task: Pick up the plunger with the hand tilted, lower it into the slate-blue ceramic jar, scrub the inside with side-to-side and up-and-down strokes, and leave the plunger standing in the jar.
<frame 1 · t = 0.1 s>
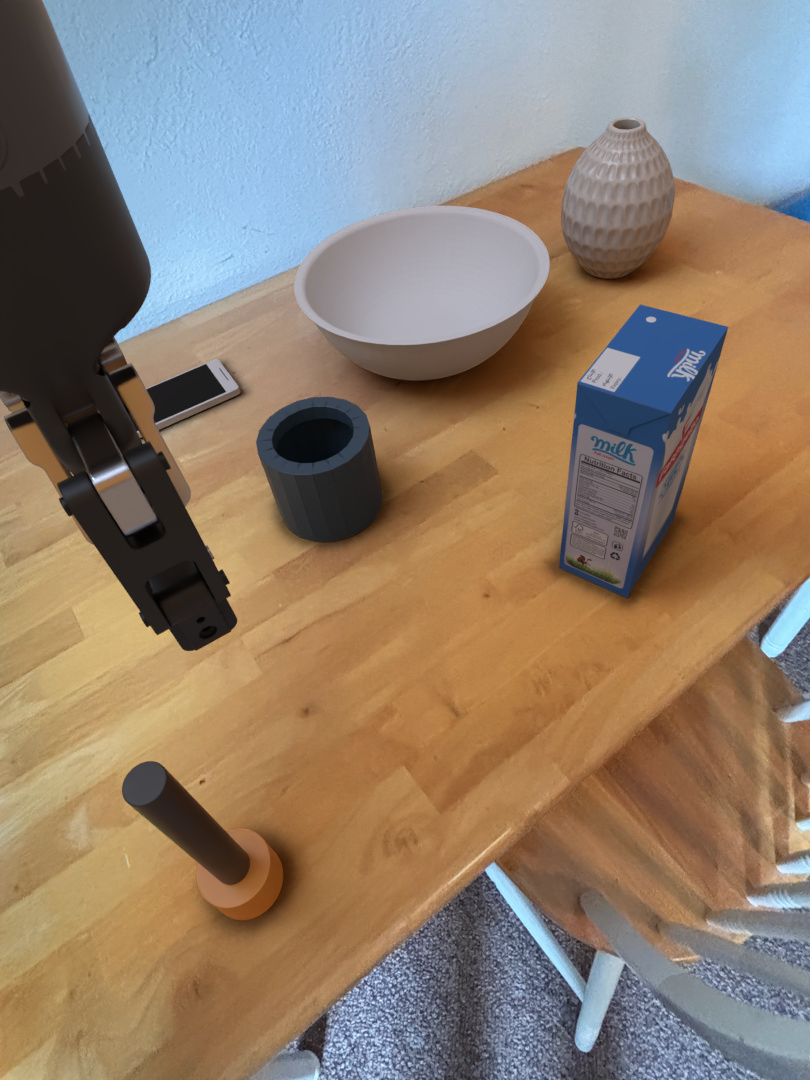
hand: (172, 561, 29), 28 cm above the table, tool pointing down, fingers open, 8 cm apart
vase: (608, 267, 90), on the table
bowl: (427, 347, 83), on the table
jar: (331, 502, 69), on the table
milk carton: (616, 545, 62), on the table
plunger: (248, 880, 48), on the table
smartphone: (169, 406, 81), on the table
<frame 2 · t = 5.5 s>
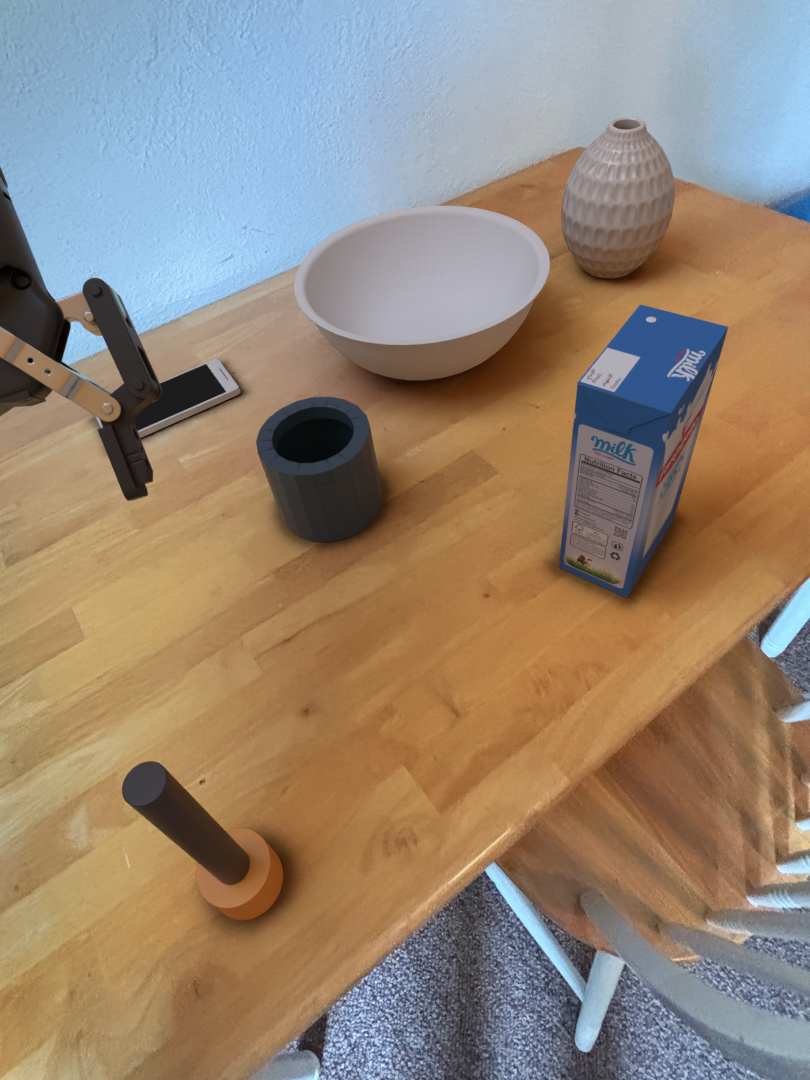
hand: (56, 526, 35), 25 cm above the table, tool tilted 45°, fingers open, 8 cm apart
nothing on the table moved.
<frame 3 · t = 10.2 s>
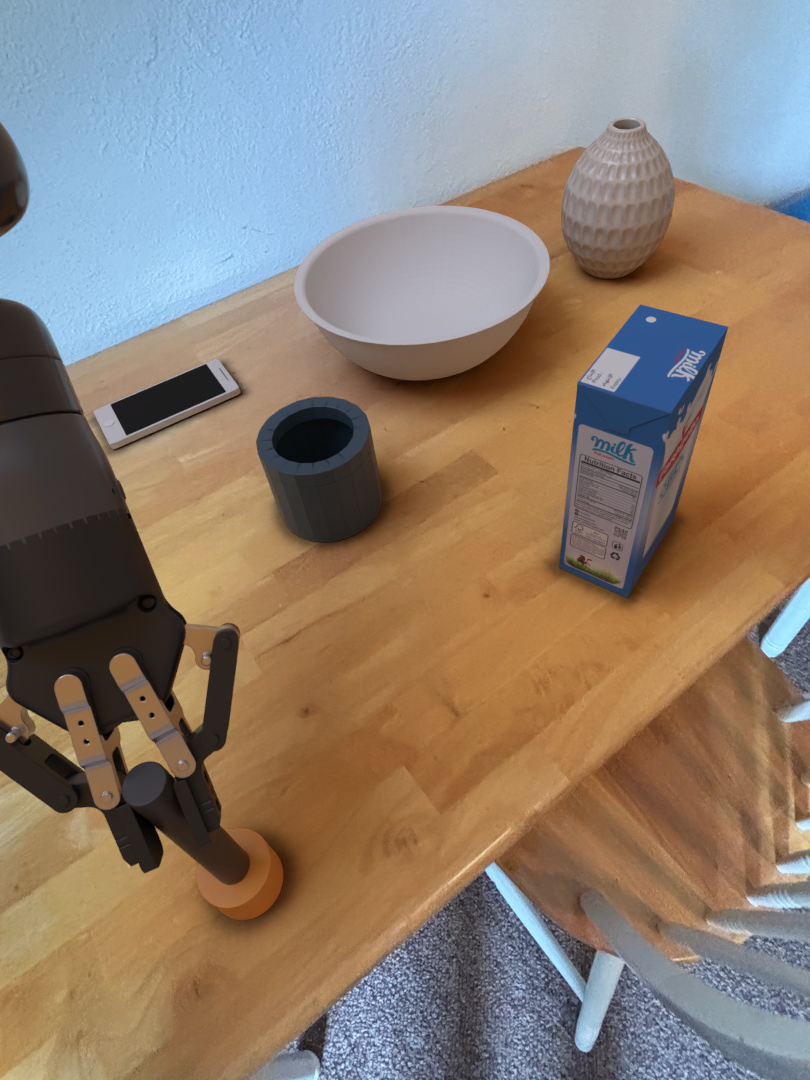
hand: (181, 849, 36), 14 cm above the table, tool tilted 45°, fingers closed on plunger
plunger: (248, 880, 48), on the table, touching gripper
everything else where it was.
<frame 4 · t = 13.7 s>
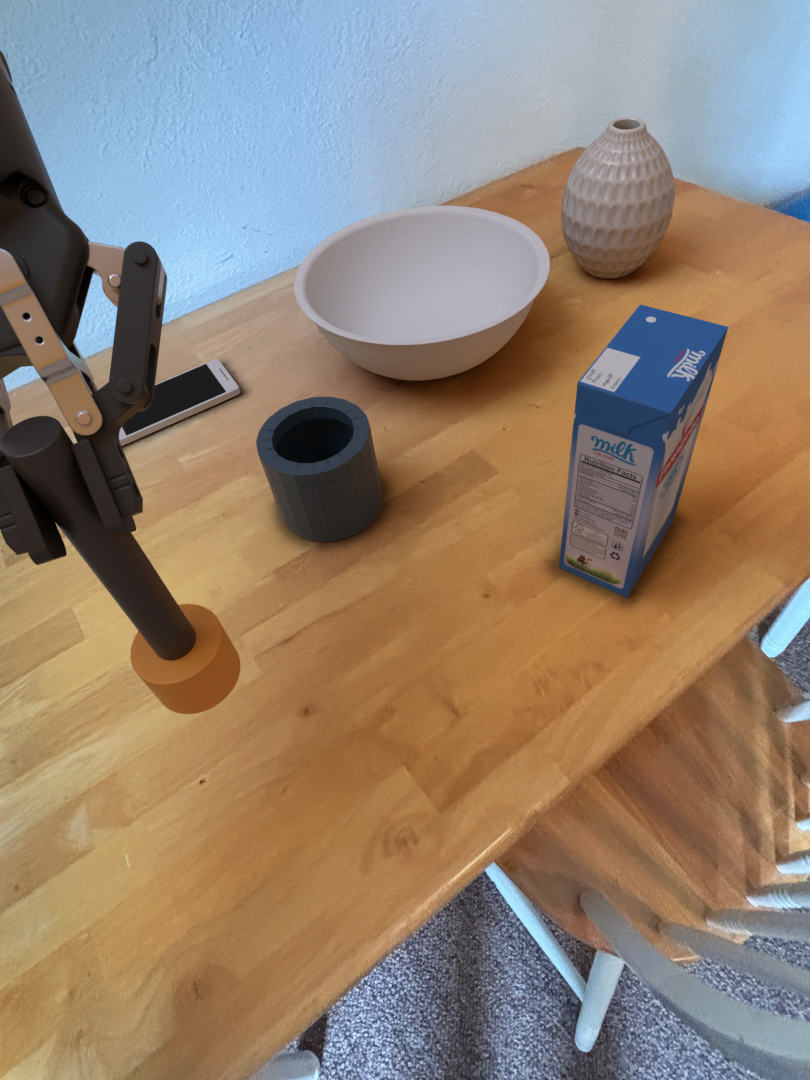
hand: (88, 545, 27), 30 cm above the table, tool tilted 45°, fingers closed on plunger
plunger: (198, 674, 39), point 16 cm above the table, touching gripper
everything else where it was.
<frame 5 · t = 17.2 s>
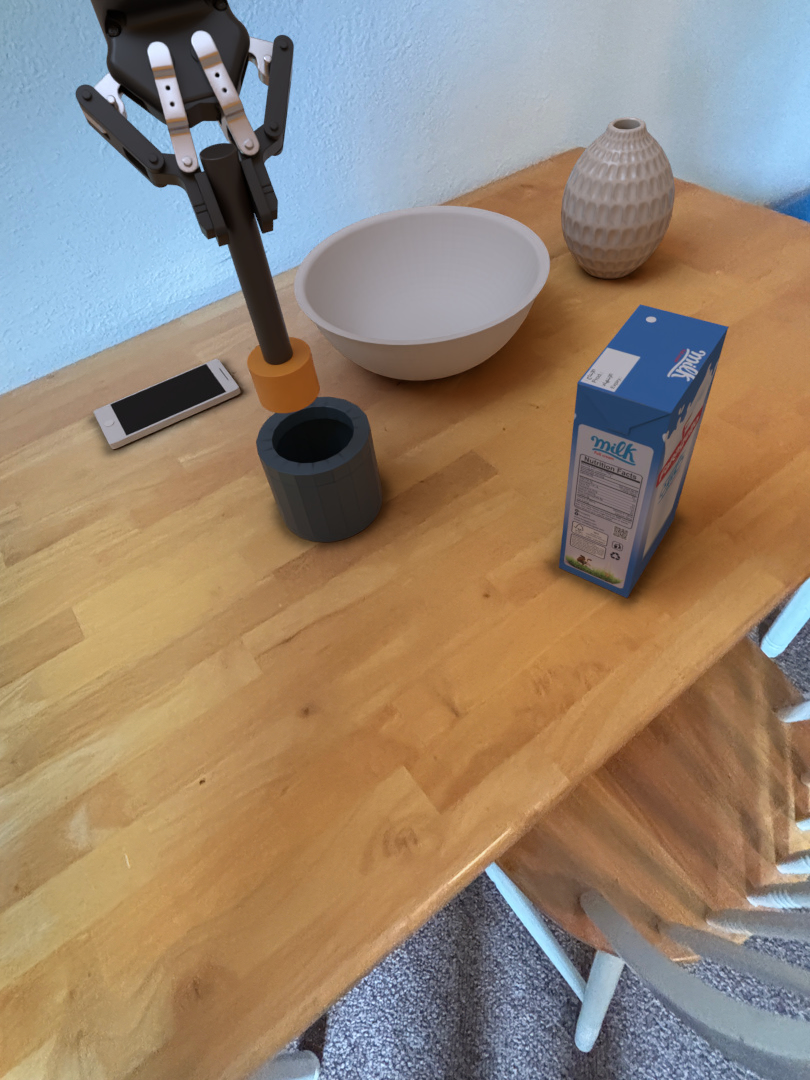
hand: (246, 233, 43), 30 cm above the table, tool tilted 45°, fingers closed on plunger
plunger: (289, 393, 55), point 16 cm above the table, touching gripper
everything else where it was.
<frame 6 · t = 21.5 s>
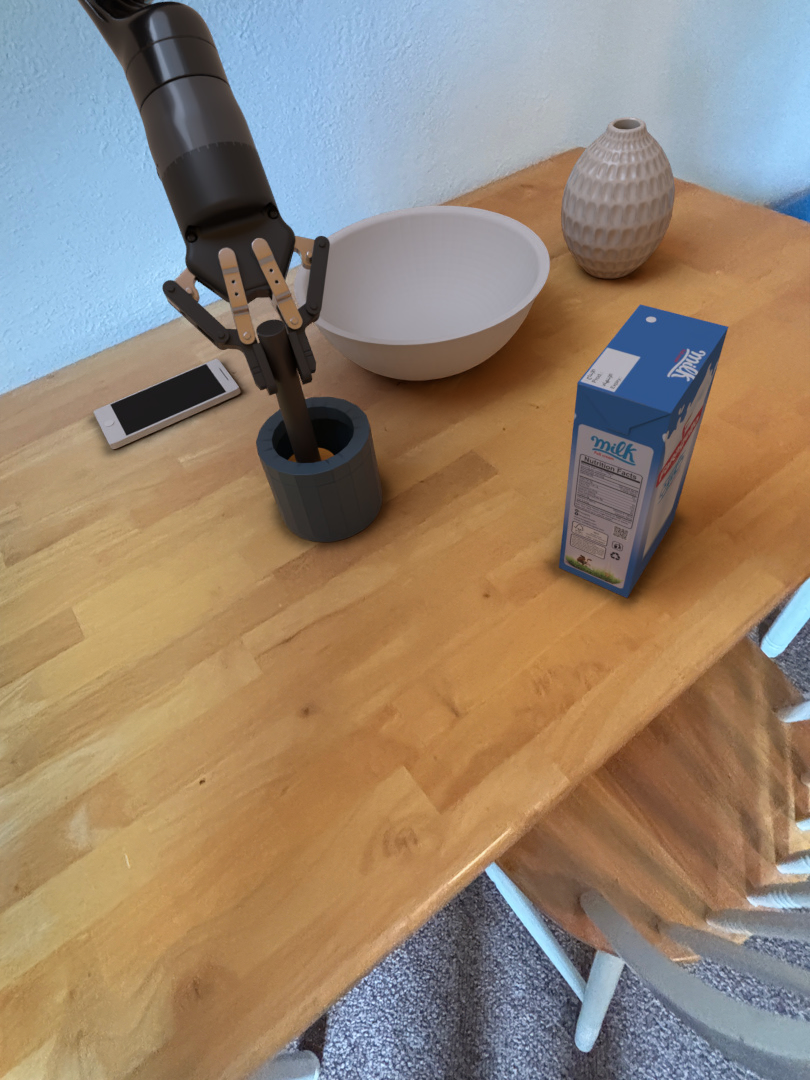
hand: (290, 386, 55), 16 cm above the table, tool tilted 45°, fingers closed on plunger
plunger: (317, 492, 67), point 2 cm above the table, touching gripper
everything else where it was.
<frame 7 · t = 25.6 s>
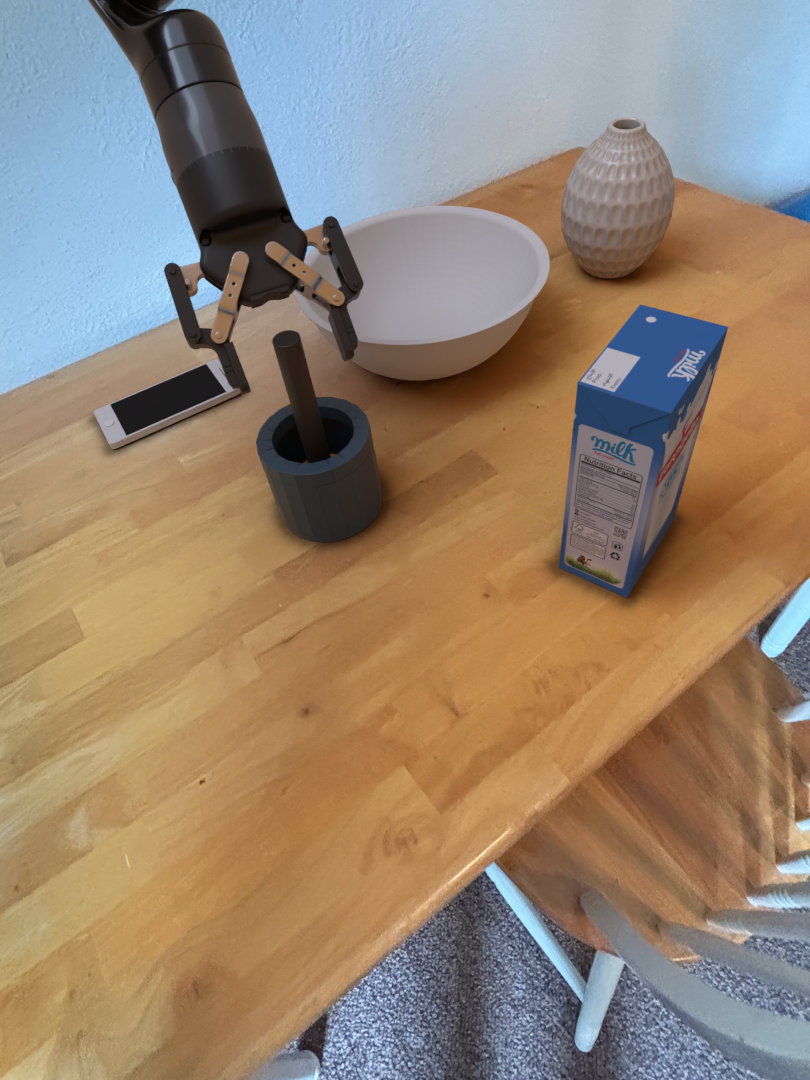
hand: (298, 374, 55), 16 cm above the table, tool tilted 45°, fingers open, 8 cm apart
plunger: (329, 496, 68), point 1 cm above the table, touching jar
everything else where it was.
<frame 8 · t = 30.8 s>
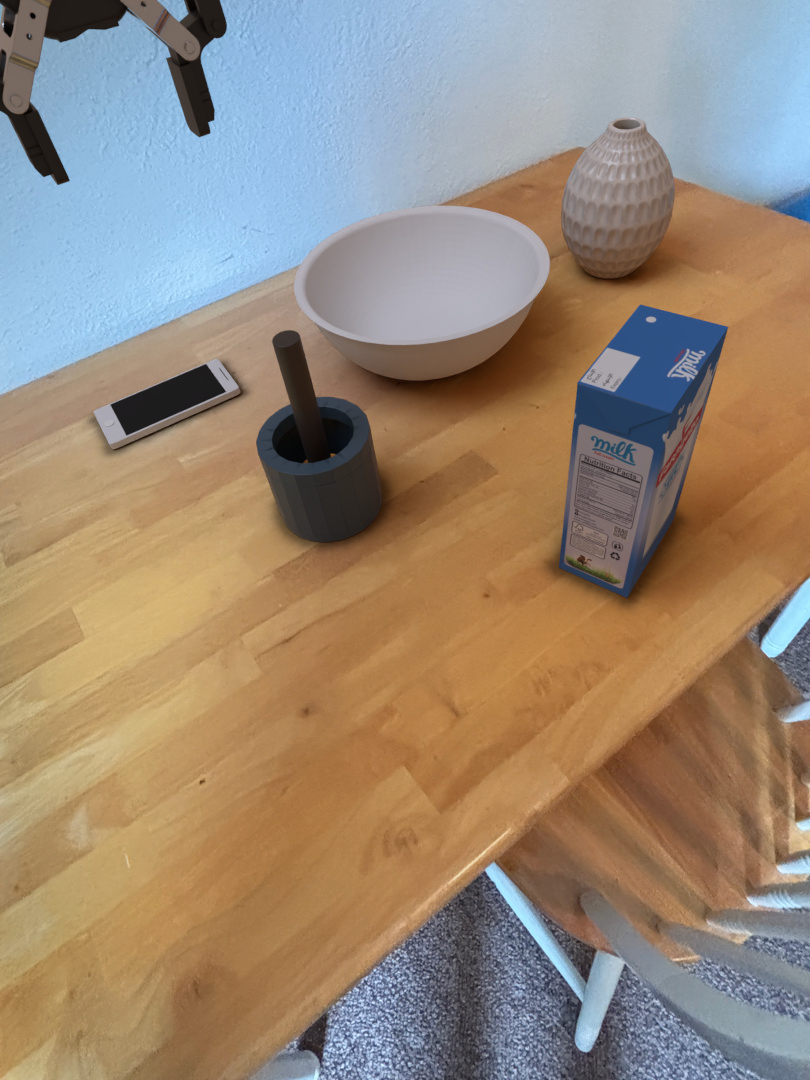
hand: (132, 155, 41), 34 cm above the table, tool pointing down, fingers open, 8 cm apart
nothing on the table moved.
at the end: plunger 0.1 cm off-centre in the jar, point 0.8 cm above the jar's base; the gripper is holding nothing; plunger moved 34.3 cm from its start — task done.
